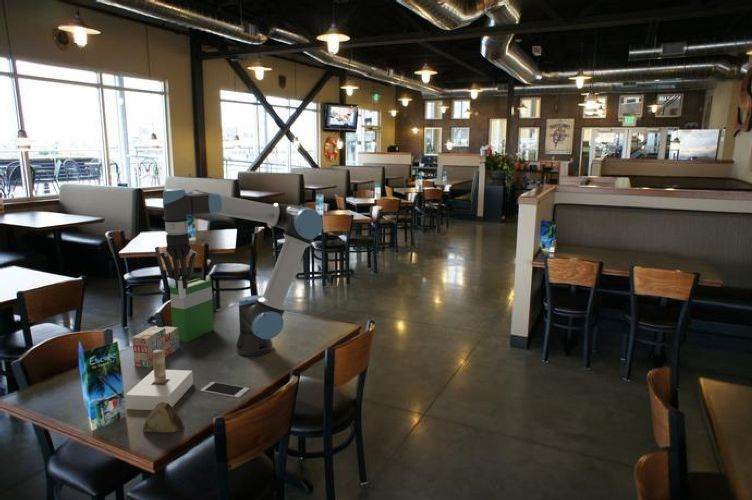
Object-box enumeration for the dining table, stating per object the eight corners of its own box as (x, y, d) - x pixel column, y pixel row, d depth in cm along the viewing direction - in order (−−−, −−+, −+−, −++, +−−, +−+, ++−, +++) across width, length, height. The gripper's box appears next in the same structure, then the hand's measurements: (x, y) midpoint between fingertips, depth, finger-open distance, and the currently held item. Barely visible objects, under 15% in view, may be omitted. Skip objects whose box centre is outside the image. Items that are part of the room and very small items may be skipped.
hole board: (193, 383, 189) (192, 370, 188) (168, 410, 169) (168, 396, 168) (154, 382, 190) (154, 369, 189) (126, 409, 170) (125, 394, 169)
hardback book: (201, 327, 247) (198, 278, 243) (213, 330, 244) (211, 280, 240) (172, 339, 231) (169, 286, 227) (185, 342, 229) (183, 289, 224)
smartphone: (238, 399, 179) (238, 396, 179) (200, 392, 184) (199, 389, 183) (249, 390, 186) (249, 387, 186) (212, 383, 190) (212, 381, 190)
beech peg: (169, 393, 181) (166, 349, 178) (164, 398, 178) (161, 353, 175) (158, 393, 182) (155, 349, 178) (153, 398, 178) (150, 353, 175)
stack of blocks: (166, 346, 223) (164, 319, 221) (179, 348, 222) (178, 320, 220) (134, 366, 203) (132, 336, 200) (148, 368, 202) (146, 338, 199)
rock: (131, 428, 154) (156, 432, 150) (142, 399, 158) (166, 402, 154) (158, 435, 163) (182, 439, 159) (168, 407, 167) (191, 410, 162)
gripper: (154, 235, 181) (160, 300, 186) (191, 234, 181) (197, 300, 186) (163, 231, 189) (168, 294, 193) (199, 231, 189) (204, 294, 193)
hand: (182, 297), depth 190 cm, fingers closed
